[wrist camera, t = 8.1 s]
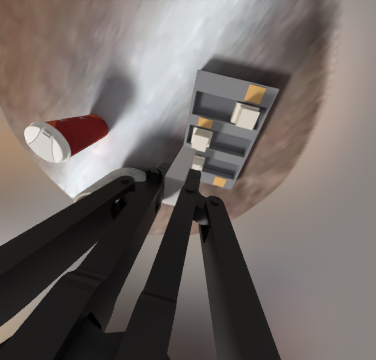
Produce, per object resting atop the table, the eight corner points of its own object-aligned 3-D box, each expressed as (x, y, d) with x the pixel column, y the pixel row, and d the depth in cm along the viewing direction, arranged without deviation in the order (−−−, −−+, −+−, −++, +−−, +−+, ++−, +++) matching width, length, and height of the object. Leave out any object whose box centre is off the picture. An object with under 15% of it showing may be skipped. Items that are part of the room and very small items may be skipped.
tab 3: (236, 101, 28) (239, 105, 23) (257, 106, 28) (264, 111, 23) (230, 120, 30) (232, 126, 25) (249, 124, 30) (254, 132, 25)
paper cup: (88, 102, 34) (23, 112, 23) (116, 126, 36) (69, 146, 25) (79, 126, 38) (19, 145, 27) (105, 147, 40) (59, 172, 29)
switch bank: (199, 70, 27) (197, 69, 24) (273, 88, 27) (280, 89, 24) (180, 169, 40) (177, 175, 37) (230, 182, 39) (231, 190, 37)
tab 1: (195, 124, 31) (191, 132, 27) (213, 129, 31) (212, 137, 27) (192, 139, 33) (187, 149, 29) (209, 144, 33) (207, 154, 29)
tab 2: (189, 150, 35) (185, 160, 30) (206, 154, 35) (204, 165, 30) (187, 162, 37) (182, 174, 32) (202, 166, 37) (200, 178, 32)
